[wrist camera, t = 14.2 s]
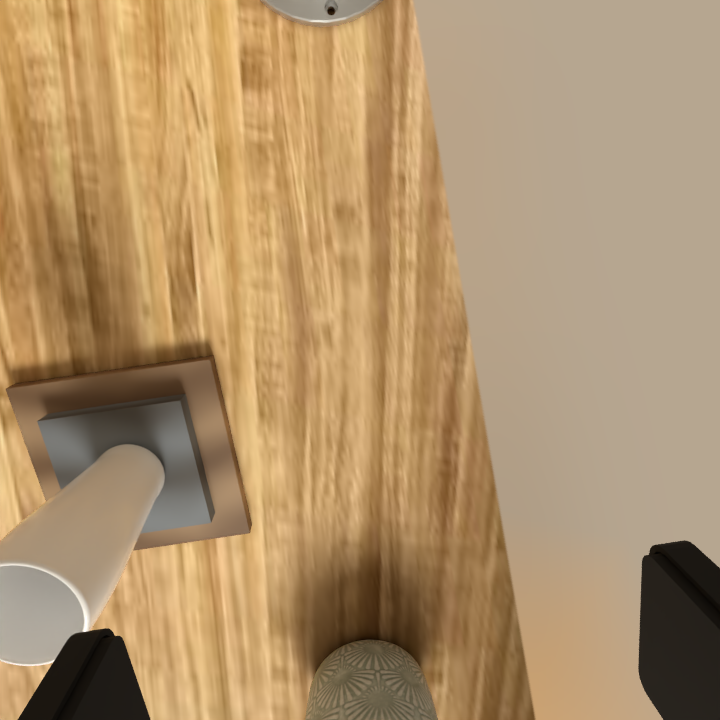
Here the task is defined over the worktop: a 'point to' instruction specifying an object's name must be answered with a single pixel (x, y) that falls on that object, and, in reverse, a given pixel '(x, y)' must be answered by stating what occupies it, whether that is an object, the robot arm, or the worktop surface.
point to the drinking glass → (73, 554)
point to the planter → (370, 685)
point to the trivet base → (141, 388)
